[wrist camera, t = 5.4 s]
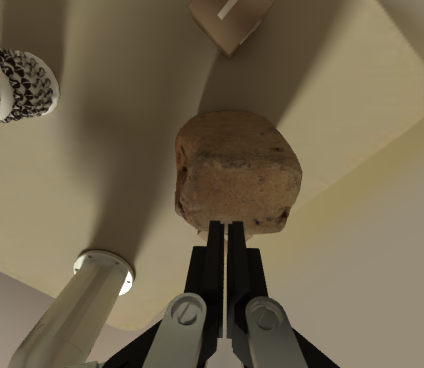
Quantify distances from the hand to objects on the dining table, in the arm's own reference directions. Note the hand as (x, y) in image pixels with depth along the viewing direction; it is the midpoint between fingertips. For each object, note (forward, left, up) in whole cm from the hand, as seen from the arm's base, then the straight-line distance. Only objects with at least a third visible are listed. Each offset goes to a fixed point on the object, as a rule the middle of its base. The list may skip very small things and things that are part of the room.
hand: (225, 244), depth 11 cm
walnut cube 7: (+10, +10, -24) cm, 28 cm away
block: (0, 0, -24) cm, 24 cm away
